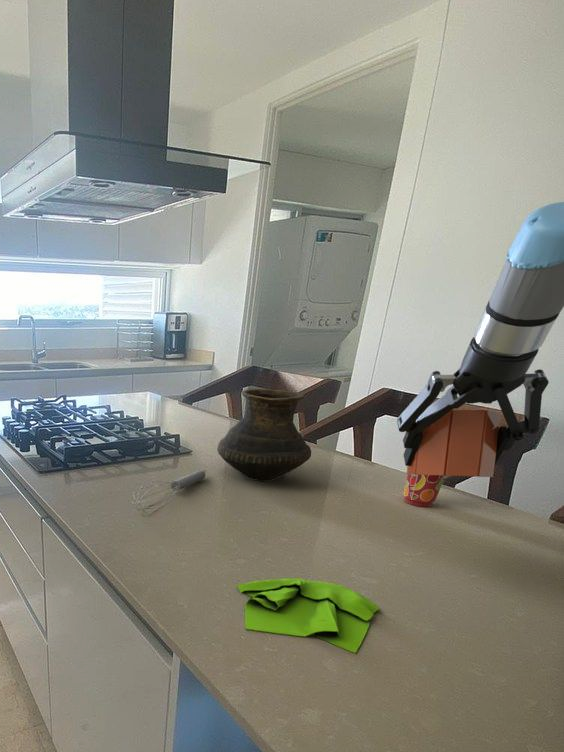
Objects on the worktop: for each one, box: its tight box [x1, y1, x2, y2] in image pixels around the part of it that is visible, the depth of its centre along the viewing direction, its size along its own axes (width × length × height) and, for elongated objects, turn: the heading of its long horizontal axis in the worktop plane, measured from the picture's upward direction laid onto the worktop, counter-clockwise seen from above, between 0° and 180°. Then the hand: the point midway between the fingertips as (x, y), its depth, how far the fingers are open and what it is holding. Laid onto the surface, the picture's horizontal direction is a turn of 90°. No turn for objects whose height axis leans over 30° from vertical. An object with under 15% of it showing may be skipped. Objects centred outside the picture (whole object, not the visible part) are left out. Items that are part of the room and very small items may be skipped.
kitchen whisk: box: [132, 469, 207, 513], centre depth 119 cm, size 6×34×6 cm, turn 145°
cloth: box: [236, 577, 380, 654], centre depth 75 cm, size 20×22×2 cm
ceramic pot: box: [216, 388, 312, 482], centre depth 130 cm, size 24×24×22 cm
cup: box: [406, 409, 502, 478], centre depth 79 cm, size 10×11×11 cm
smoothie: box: [402, 473, 446, 508], centre depth 114 cm, size 8×8×20 cm
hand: (446, 461), depth 80 cm, fingers closed on cup, 11 cm apart
